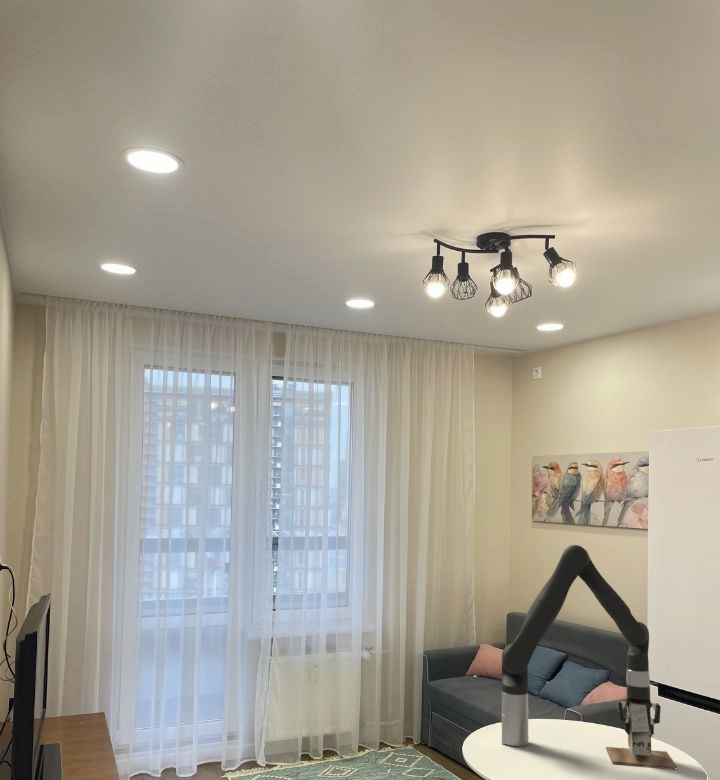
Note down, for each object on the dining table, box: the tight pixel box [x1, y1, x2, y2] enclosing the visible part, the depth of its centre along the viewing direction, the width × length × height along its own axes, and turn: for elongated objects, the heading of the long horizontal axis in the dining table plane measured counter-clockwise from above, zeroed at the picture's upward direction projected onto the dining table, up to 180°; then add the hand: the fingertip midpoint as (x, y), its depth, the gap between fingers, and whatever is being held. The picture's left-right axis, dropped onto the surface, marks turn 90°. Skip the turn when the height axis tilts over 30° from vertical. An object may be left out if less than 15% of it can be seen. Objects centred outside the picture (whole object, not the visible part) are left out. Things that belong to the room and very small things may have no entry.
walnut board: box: [605, 746, 678, 769], centre depth 253 cm, size 20×15×1 cm
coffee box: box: [626, 702, 652, 756], centre depth 254 cm, size 9×6×16 cm
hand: (639, 734), depth 254 cm, fingers closed on coffee box, 6 cm apart
